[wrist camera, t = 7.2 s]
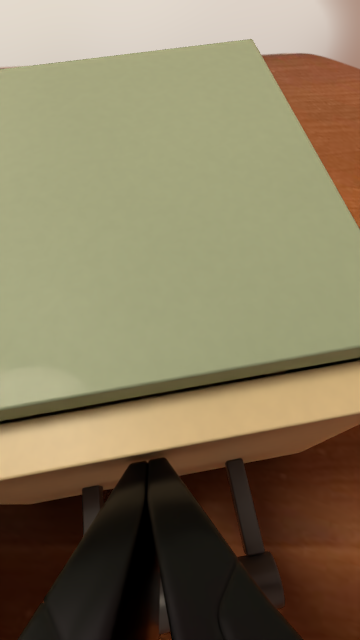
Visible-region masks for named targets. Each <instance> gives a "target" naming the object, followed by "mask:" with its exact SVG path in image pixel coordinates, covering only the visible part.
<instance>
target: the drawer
mask: <svg viewBox="0 0 360 640" xmlns="http://www.w3.org/2000/svg"><path fill="white" fill-rule="evenodd" d="M286 371H287V370H286ZM286 371H280V372H274V373H269V374H263V375H257V376H252V377H246V378H241V379H235V380H229V381H224V382H218V383H212V384H207V385H201V386H195V387H190V388H184V389H178V390H173V391H167V392H162V393H156V394H150V395H145V396H139V397H133V398H128V399H122V400H116V401H111V402H105V403H100V404H94V405H88V406H83V407H77V408H71V409H66V410H60V411H54V412H49V413H43V414H38V415H32V416H26V417H21V418H15V419H9V420H11V421H13V422H11V423H5V424H0V504H35V503H40V502H45V501H50V500H55V499H61V498H66V497H71V496H76V495H82V509H83V536H84V535H85V533H86V532H87V530H88V529H89V527H90V525H91V524H92V522H93V521H94V519H95V518H96V516H97V514H98V513H99V511H100V510H101V508H102V507H103V505H104V498H103V490H108V489H113V488H115V486H116V485H117V483H118V481H119V480H120V478H121V477H122V475H123V474H124V472H125V470H126V469H127V467H128V466H129V465H130V464H131V463H135V462H140V461H147V462H148V461H149V460H151V459H156V458H161V457H165V458H166V459H167V460H168V462H169V463H170V464H171V466H172V467H173V469H174V470H175V471H176V473H177V474H178V475H179V476H181V475H186V474H191V473H196V472H202V471H207V470H212V469H217V468H222V467H226V471H227V476H228V481H229V485H230V490H231V494H232V499H233V504H234V508H235V513H236V517H237V522H238V526H239V531H240V536H241V540H242V545H243V549H244V553H245V554H246V556H241V557H237V558H238V559H239V562H241V563H242V564H243V566H244V567H245V568H246V570H247V571H248V573H249V574H250V575H251V577H252V578H253V580H254V581H255V582H256V583H257V585H258V586H259V587H260V589H261V590H262V591H263V593H264V594H265V595H266V596H267V598H268V599H269V600H270V602H271V603H272V604H273V605H274V607H275V608H276V609H278V608H283V607H284V606H285V596H284V590H283V585H282V581H281V577H280V574H279V571H278V568H277V565H276V562H275V560H274V558H273V556H272V554H271V553H270V552H269V551H265V549H264V545H263V541H262V536H261V532H260V528H259V524H258V520H257V516H256V512H255V508H254V503H253V499H252V495H251V491H250V487H249V483H248V479H247V475H246V471H245V466H244V463H249V462H254V461H259V460H264V459H269V458H275V457H280V456H285V455H290V454H296V453H300V452H302V451H304V450H306V449H309V448H311V447H313V446H315V445H317V444H319V443H321V442H323V441H325V440H328V439H330V438H332V437H334V436H336V435H338V434H340V433H342V432H344V431H346V430H349V429H351V428H353V427H355V426H357V425H359V424H360V360H359V361H354V362H348V363H342V364H337V365H331V366H326V367H320V368H314V369H309V370H303V371H297V372H292V373H286V374H284V373H285V372H286ZM168 632H170V627H169V621H168V616H167V610H166V605H165V599H164V594H163V588H162V583H161V577H160V610H159V634H163V633H168Z"/></svg>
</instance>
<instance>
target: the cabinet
mask: <svg viewBox="0 0 360 640" xmlns="http://www.w3.org/2000/svg"><path fill="white" fill-rule="evenodd" d="M359 360H360V229H359V227H358V225H357V224H356V222H355V220H354V218H353V217H352V215H351V213H350V211H349V210H348V208H347V206H346V204H345V202H344V201H343V199H342V197H341V195H340V194H339V192H338V190H337V188H336V187H335V185H334V183H333V181H332V179H331V178H330V176H329V174H328V172H327V171H326V169H325V167H324V165H323V164H322V162H321V160H320V158H319V156H318V155H317V153H316V151H315V149H314V148H313V146H312V144H311V142H310V141H309V139H308V137H307V135H306V134H305V132H304V130H303V128H302V126H301V125H300V123H299V121H298V119H297V118H296V116H295V114H294V112H293V111H292V109H291V107H290V105H289V103H288V102H287V100H286V98H285V96H284V95H283V93H282V91H281V89H280V88H279V86H278V84H277V82H276V80H275V79H274V77H273V75H272V73H271V72H270V70H269V68H268V66H267V65H266V63H265V61H264V59H263V57H262V56H261V54H260V52H259V50H258V49H257V47H256V45H255V43H254V42H253V40H252V39H249V40H240V41H232V42H224V43H216V44H207V45H199V46H190V47H183V48H174V49H165V50H157V51H149V52H141V53H132V54H124V55H116V56H107V57H99V58H91V59H83V60H74V61H66V62H58V63H49V64H42V65H33V66H25V67H16V68H8V69H0V424H5V423H11V422H13V421H11V420H9V419H15V418H21V417H26V416H32V415H38V414H43V413H49V412H54V411H60V410H66V409H71V408H77V407H83V406H88V405H94V404H100V403H105V402H111V401H116V400H122V399H128V398H133V397H139V396H145V395H150V394H156V393H162V392H167V391H173V390H178V389H184V388H190V387H195V386H201V385H207V384H212V383H218V382H224V381H229V380H235V379H241V378H246V377H252V376H257V375H263V374H269V373H274V372H280V371H286V370H287V371H286V372H285V373H284V374H286V373H292V372H297V371H303V370H309V369H314V368H320V367H326V366H331V365H337V364H342V363H348V362H354V361H359Z"/></svg>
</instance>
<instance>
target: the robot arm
mask: <svg viewBox="0 0 360 640" xmlns="http://www.w3.org/2000/svg"><path fill="white" fill-rule="evenodd" d="M160 577H161V583H162V588H163V594H164V599H165V605H166V610H167V616H168V621H169V627H170V632H171V638H172V640H303V639H302V637H301V636H300V635H299V634H298V633H297V632H296V631H295V630H294V628H293V627H292V626H291V625H290V624H289V623H288V622H287V620H286V619H285V618H284V617H283V616H282V615H281V613H280V612H279V611H278V610H277V609H276V608H275V607H274V605H273V604H272V603H271V602H270V600H269V599H268V598H267V596H266V595H265V594H264V593H263V591H262V590H261V589H260V587H259V586H258V585H257V583H256V582H255V581H254V580H253V578H252V577H251V575H250V574H249V573H248V571H247V570H246V568H245V567H244V566H243V564H242V563H241V562H239V559H238V558H237V556H236V555H235V553H234V552H233V551H232V549H231V548H230V547H229V545H228V544H227V542H226V541H225V540H224V538H223V537H222V535H221V534H220V533H219V531H218V530H217V528H216V527H215V526H214V524H213V523H212V521H211V520H210V519H209V517H208V516H207V514H206V513H205V512H204V510H203V509H202V508H201V506H200V505H199V503H198V502H197V501H196V499H195V498H194V496H193V495H192V494H191V492H190V491H189V489H188V488H187V487H186V485H185V484H184V482H183V481H182V480H181V478H180V477H179V475H178V474H177V473H176V471H175V470H174V469H173V467H172V466H171V464H170V463H169V462H168V460H167V459H166V458H165V457H161V458H156V459H151V460H149V461H148V462H147V461H140V462H135V463H131V464H130V465H129V466H128V467H127V469H126V470H125V472H124V474H123V475H122V477H121V478H120V480H119V481H118V483H117V485H116V486H115V488H114V489H113V491H112V492H111V494H110V496H109V497H108V499H107V500H106V502H105V503H104V505H103V507H102V508H101V510H100V511H99V513H98V514H97V516H96V518H95V519H94V521H93V522H92V524H91V525H90V527H89V529H88V530H87V532H86V533H85V535H84V536H83V538H82V540H81V541H80V543H79V544H78V546H77V547H76V549H75V551H74V552H73V554H72V555H71V557H70V558H69V560H68V562H67V563H66V565H65V566H64V568H63V569H62V571H61V573H60V574H59V576H58V577H57V579H56V580H55V582H54V584H53V585H52V587H51V588H50V590H49V591H48V593H47V595H46V596H45V598H44V603H41V604H40V605H39V607H38V608H37V610H36V611H35V613H34V615H33V616H32V618H31V619H30V621H29V622H28V624H27V626H26V627H25V629H24V630H23V632H22V633H21V635H20V636H19V638H18V639H17V640H159V610H160Z"/></svg>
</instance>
